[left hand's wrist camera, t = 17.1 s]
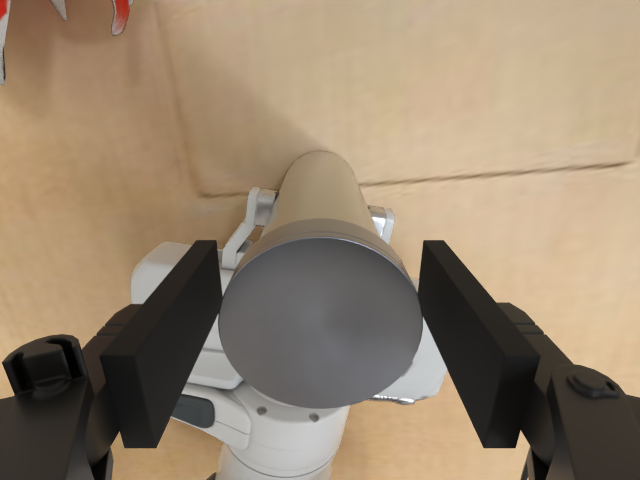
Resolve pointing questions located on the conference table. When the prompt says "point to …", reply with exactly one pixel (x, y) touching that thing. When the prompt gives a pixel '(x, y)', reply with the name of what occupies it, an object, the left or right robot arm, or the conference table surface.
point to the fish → (121, 12)
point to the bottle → (320, 193)
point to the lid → (320, 315)
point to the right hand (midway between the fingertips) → (322, 199)
